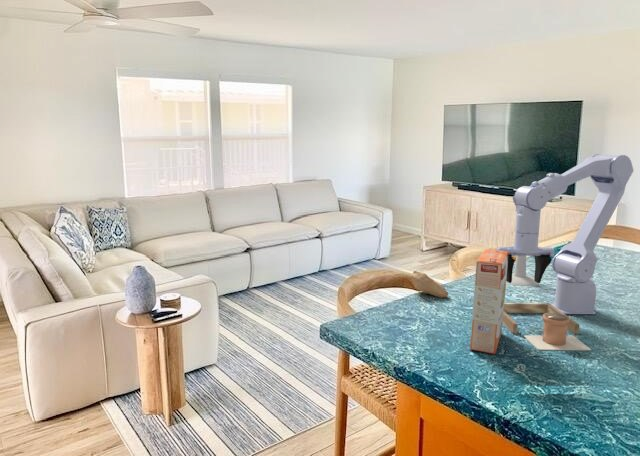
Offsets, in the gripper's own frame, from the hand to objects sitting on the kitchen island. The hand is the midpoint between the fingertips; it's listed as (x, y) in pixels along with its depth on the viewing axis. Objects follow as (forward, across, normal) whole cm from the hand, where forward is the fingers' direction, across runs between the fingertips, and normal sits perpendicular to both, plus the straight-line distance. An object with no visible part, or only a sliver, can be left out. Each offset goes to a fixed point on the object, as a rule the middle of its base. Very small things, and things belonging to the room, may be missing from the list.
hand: (522, 281), depth 129 cm
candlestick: (+10, -12, -31) cm, 35 cm away
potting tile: (+9, -1, +18) cm, 21 cm away
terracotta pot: (+9, -1, +18) cm, 20 cm away
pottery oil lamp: (+10, +21, -17) cm, 29 cm away
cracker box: (+10, +15, +18) cm, 25 cm away
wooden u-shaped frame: (+9, -1, +5) cm, 11 cm away
